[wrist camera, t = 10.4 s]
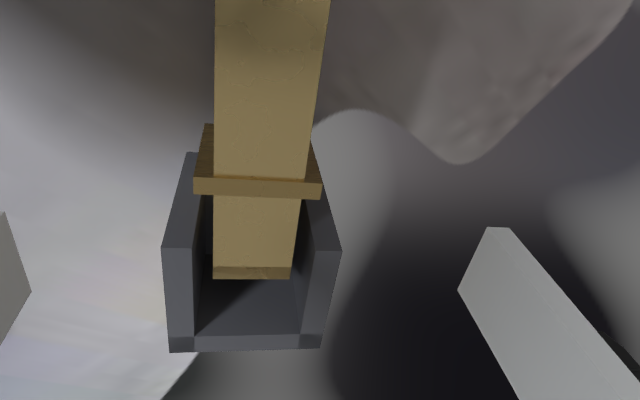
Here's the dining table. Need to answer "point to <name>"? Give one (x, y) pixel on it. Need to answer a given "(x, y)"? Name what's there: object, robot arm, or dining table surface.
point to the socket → (244, 282)
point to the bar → (261, 132)
